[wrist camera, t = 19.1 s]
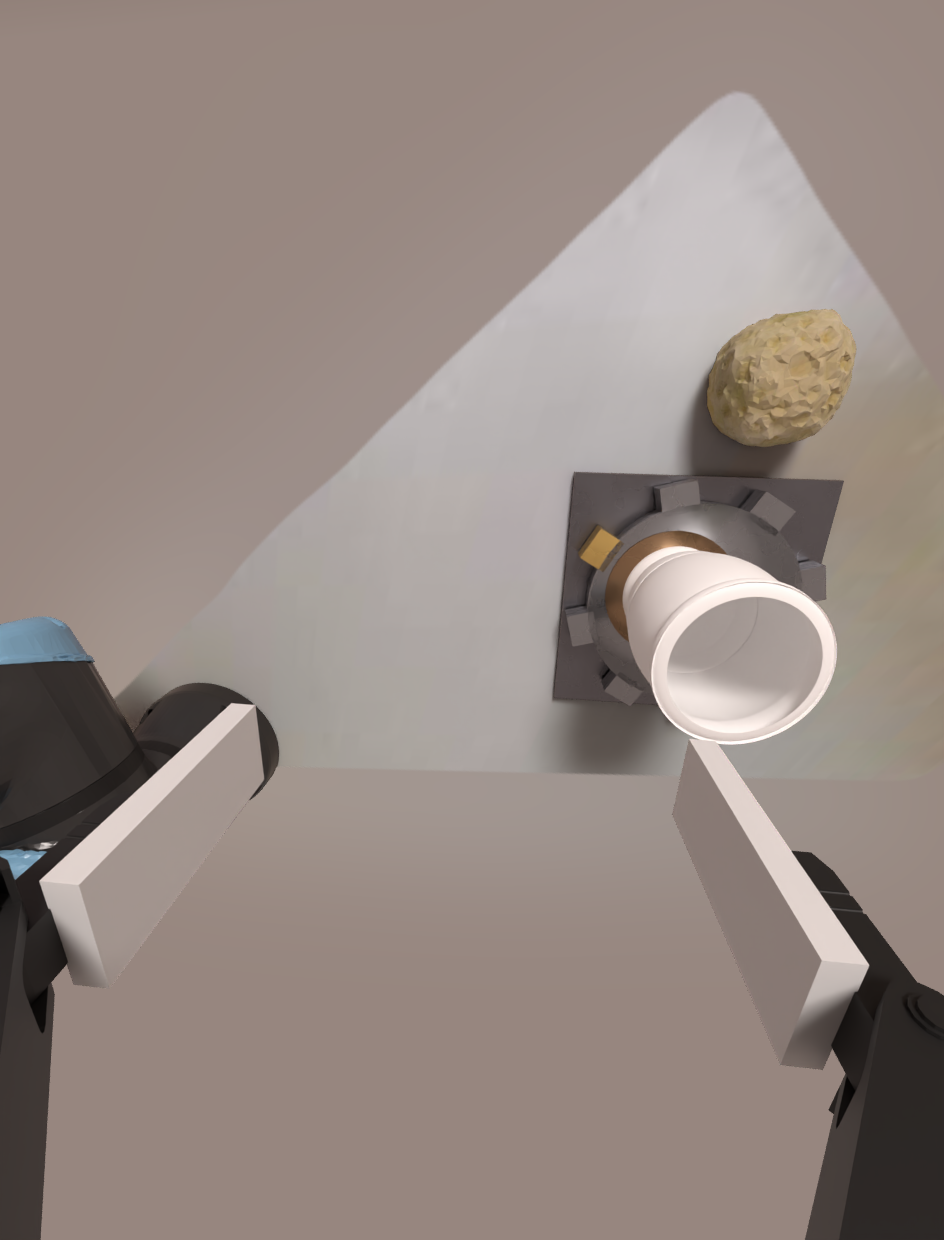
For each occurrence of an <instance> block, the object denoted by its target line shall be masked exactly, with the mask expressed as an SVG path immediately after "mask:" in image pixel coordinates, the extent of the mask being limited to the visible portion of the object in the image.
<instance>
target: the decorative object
mask: <svg viewBox="0 0 944 1240" xmlns="http://www.w3.org/2000/svg"><path fill="white" fill-rule="evenodd" d="M855 354H856V344H855V341H854V339H853V337H852V333H851V331H850V329H849V328H847V327H846V326H845V325H844V324H843V322H842V319H841V317H840V315H839V314H838V313H837V312H836V311H834V310H833V309H831V310H827V309H823V310H810V311H808V312H805V311H803V312H796V313H789V314H775V315H774V316H773V317H771V318H770V319H763V320H760V321H758V322H757V323H756V324H752V325H750V326H747V327H746V328H745V329H744V330H742V331H741V332H740V333H738V334H737V335H735V336H733V337H732V338H731V339H730V340H729V341H728V342H727V343H726V344H725V345H724V346H723V347H722V348H721V350H720V351H719V352H718V355H717V357H716V359H717V360H716V361H715V364H714V366H713V369H712V371H711V373H710V374H709V387H708V389H707V408H708V410H709V413H710V415H711V419H712V422H713V424H714V425H715V426H716V427H717V428H718V429H719V431H720V432H722V433H723V434H725V435H726V436H728V437H730V438H731V439H733V440H736V441H738V442H740V443H741V444H744V445H748V446H760V447H769V446H775V445H780V444H788V443H791V442H796V441H798V440H799V441H800V440H803V439H805V438H807V437H809V436H813V435H815V434H816V433H817V432H818V431H819V430H820V429H821V428H823V427H824V426H825V425H826V424H827V423H828V421H829V420H831V419H832V417H833V416H834V414H835V412H836V410H837V409H839V407H840V405H841V402H842V399H843V397H844V395H845V394H846V393H847V391H848V388H849V386H850V382H851V378H852V369H853V366H854V358H855Z"/></svg>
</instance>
